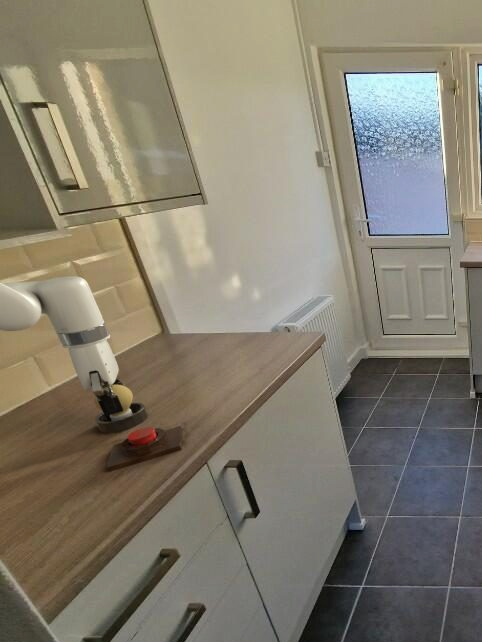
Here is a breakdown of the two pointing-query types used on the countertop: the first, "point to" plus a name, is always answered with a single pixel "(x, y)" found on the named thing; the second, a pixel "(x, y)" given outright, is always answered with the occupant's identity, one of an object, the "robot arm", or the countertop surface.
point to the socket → (122, 420)
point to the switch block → (145, 449)
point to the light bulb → (125, 399)
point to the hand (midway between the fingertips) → (116, 405)
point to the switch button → (142, 436)
